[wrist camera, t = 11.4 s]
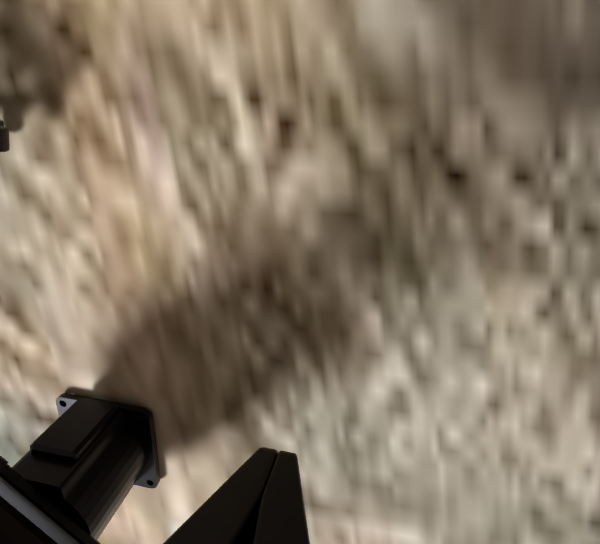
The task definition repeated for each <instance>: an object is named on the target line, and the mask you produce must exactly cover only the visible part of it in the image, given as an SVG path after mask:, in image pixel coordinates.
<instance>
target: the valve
mask: <svg viewBox="0 0 600 544" xmlns="http://www.w3.org/2000/svg"><path fill="white" fill-rule="evenodd" d="M7 151H9V129H8V128H6V127H4V121H2V120H0V152H7Z"/></svg>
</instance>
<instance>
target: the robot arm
mask: <svg viewBox="0 0 600 544" xmlns="http://www.w3.org/2000/svg"><path fill="white" fill-rule="evenodd" d="M56 405H57V409H58V413H59V418H58V419H57V420H56V421H55V422H54V423H53V424H52V425H51V426H50V427H49V428H48V429H46V430H45V431H44V432H43V433H42V434H41V435H40V436H39V437H38V438H37V439H36V440H35V441H34V442H33V443H32V444H31V445H30V449H31V450H30V451H29V452H27V453H26V454H25V455H24V456H23V457H22V458H21V459H20V460H19V461H18V462H17V463H16V464H15V465H14V466H13V467H12V468H11V467H10V466H9V465H8V464H7V463H8V461H6V460H5V459H4V458H3V457H2V456H0V544H100V543H99V542H98V541H97V539H98V538H99V536H100V535H101V533H102V532H103V530H104V529H105V527H106V526H107V524H108V523H109V521H110V520H111V518H112V517H113V515H114V514H115V512H116V511H117V509H118V508H119V506H120V505H121V503H122V502H123V500H124V499H125V497H126V496H127V494H128V493H129V491H130V489H131V488H132V486H133V485H138V486H143V487H148V488H156V486H157V485H158V483H159V481H160V476H159V467H158V458H157V450H156V441H155V432H154V424H153V415H152V413H151V411H150V410H148V409H146V408H143V407H137V406H132V405H126V404H121V403H116V402H110V401H105V400H99V399H94V398H88V397H83V396H78V395H72V394H67V393H63V394H61V395H60V396H59V397H58V398H57V399H56ZM163 544H310V542H309V535H308V528H307V521H306V514H305V508H304V501H303V494H302V487H301V480H300V473H299V466H298V459H297V455H296V454H295V453H290V452H285V451H280V452H279V453H278V451H277V450H275V449H269V448H264V447H262V448H259V449H258V450H257V451H256V452H255V453H254V454H253V455H252V456H251V457H250V458H249V459H248V460H247V461H246V462H245V463H244V464H243V465H242V466H241V467H240V468H239V469H238V470H237V471H236V472H235V473H234V474H233V475H232V476H231V477H230V478H229V479H228V480H227V481H226V482H225V483H224V484H223V485H222V486H221V487H220V488H219V489H218V490H217V491H216V492H215V493H214V494H213V495H212V496H211V497H210V498H209V499H208V500H207V501H206V502H205V503H204V504H203V505H202V506H201V507H200V508H199V509H198V510H197V511H196V512H195V513H194V514H193V515H192V516H191V517H190V518H189V519H188V520H187V521H186V522H185V523H184V524H183V525H182V526H181V527H179V528H178V529H177V530H176V531H175V532H174V533H173V534H172V535H171V536H170V537H169V538H168V539H167V540H166V541H165V542H164V543H163Z"/></svg>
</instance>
